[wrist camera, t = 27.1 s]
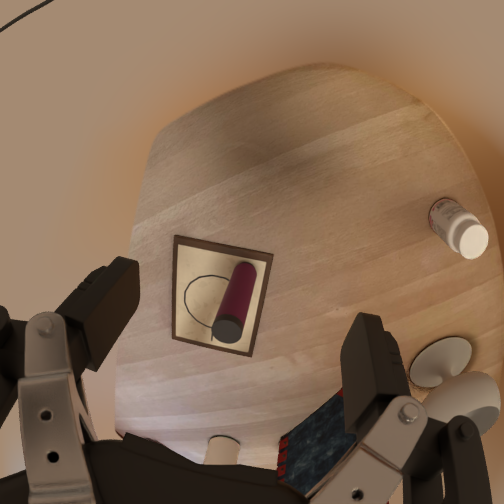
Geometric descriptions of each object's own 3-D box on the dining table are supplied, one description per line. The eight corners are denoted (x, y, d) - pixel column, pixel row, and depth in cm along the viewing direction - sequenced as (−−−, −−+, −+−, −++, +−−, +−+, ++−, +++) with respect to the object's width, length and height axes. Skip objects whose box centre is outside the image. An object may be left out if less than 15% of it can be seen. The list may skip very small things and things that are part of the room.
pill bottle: (452, 236, 35) (481, 266, 27) (423, 229, 35) (450, 259, 28) (463, 202, 33) (496, 226, 25) (434, 194, 33) (464, 216, 26)
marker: (230, 265, 40) (204, 326, 29) (250, 255, 39) (230, 315, 28) (242, 283, 41) (222, 347, 30) (262, 274, 40) (247, 338, 29)
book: (299, 448, 59) (291, 546, 37) (273, 441, 59) (259, 542, 37) (376, 390, 48) (393, 517, 26) (347, 379, 48) (356, 516, 25)
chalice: (477, 320, 40) (514, 385, 26) (472, 373, 45) (497, 433, 31) (401, 348, 44) (422, 424, 30) (406, 397, 48) (420, 463, 35)
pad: (173, 336, 48) (171, 339, 48) (175, 234, 40) (173, 236, 40) (252, 355, 48) (251, 357, 47) (273, 254, 40) (273, 256, 39)
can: (204, 439, 62) (191, 482, 52) (221, 431, 59) (209, 477, 49) (228, 451, 64) (218, 493, 53) (246, 444, 61) (238, 488, 50)
